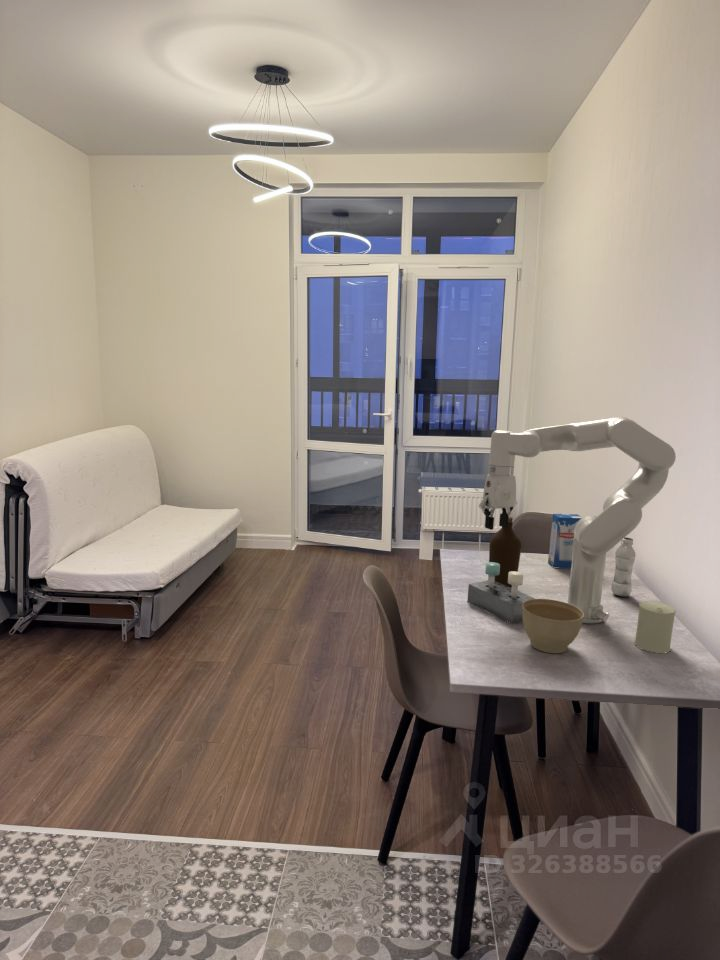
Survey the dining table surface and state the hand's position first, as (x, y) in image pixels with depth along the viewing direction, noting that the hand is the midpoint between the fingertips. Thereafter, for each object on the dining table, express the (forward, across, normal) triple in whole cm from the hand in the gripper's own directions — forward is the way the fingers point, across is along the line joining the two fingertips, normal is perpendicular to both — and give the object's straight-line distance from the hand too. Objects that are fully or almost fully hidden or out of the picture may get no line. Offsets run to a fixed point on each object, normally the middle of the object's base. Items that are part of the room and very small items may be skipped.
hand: (496, 527), depth 201 cm
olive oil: (+26, +15, +10) cm, 31 cm away
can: (+26, +20, -44) cm, 55 cm away
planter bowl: (+26, -7, -31) cm, 41 cm away
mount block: (+25, 0, -5) cm, 26 cm away
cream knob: (+21, 0, -10) cm, 24 cm away
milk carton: (+26, +56, +19) cm, 64 cm away
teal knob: (+21, 0, 0) cm, 21 cm away
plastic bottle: (+26, +48, -13) cm, 56 cm away
